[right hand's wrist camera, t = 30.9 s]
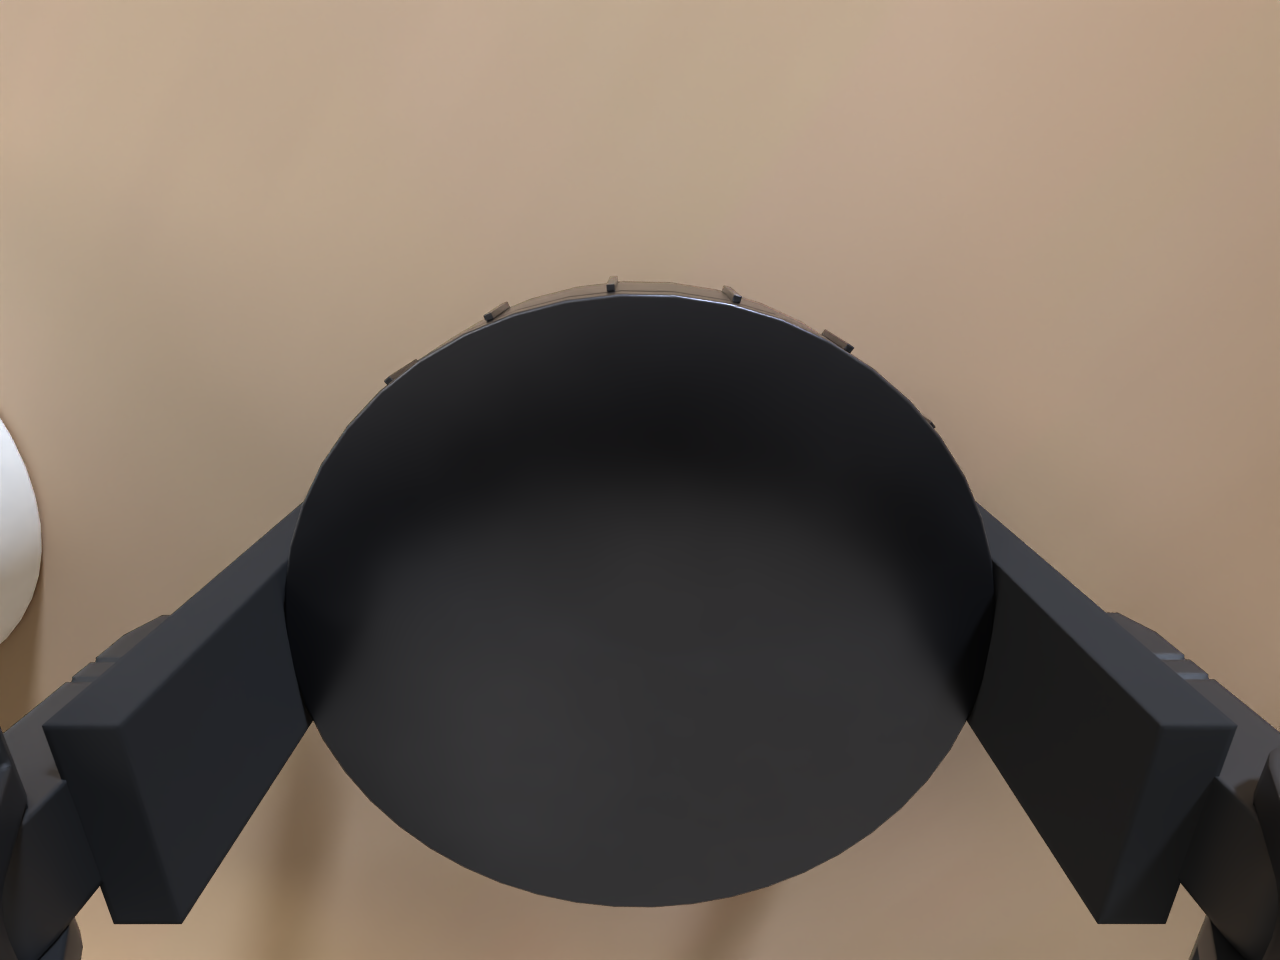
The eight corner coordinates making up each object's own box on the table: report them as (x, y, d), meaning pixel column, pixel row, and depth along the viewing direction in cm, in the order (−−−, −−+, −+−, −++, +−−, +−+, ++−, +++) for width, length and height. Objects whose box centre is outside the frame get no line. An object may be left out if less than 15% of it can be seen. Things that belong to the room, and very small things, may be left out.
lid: (350, 807, 14) (310, 890, 12) (309, 248, 10) (242, 254, 8) (877, 841, 14) (910, 926, 12) (1020, 311, 10) (1093, 329, 9)
